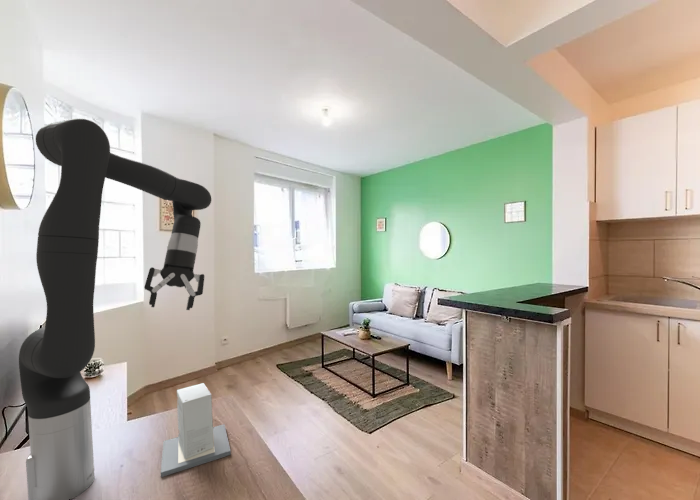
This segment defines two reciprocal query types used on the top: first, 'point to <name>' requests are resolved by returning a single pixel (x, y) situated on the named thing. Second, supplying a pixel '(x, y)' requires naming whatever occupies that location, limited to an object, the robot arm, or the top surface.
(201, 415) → the small box
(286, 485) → the top surface
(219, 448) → the base board
